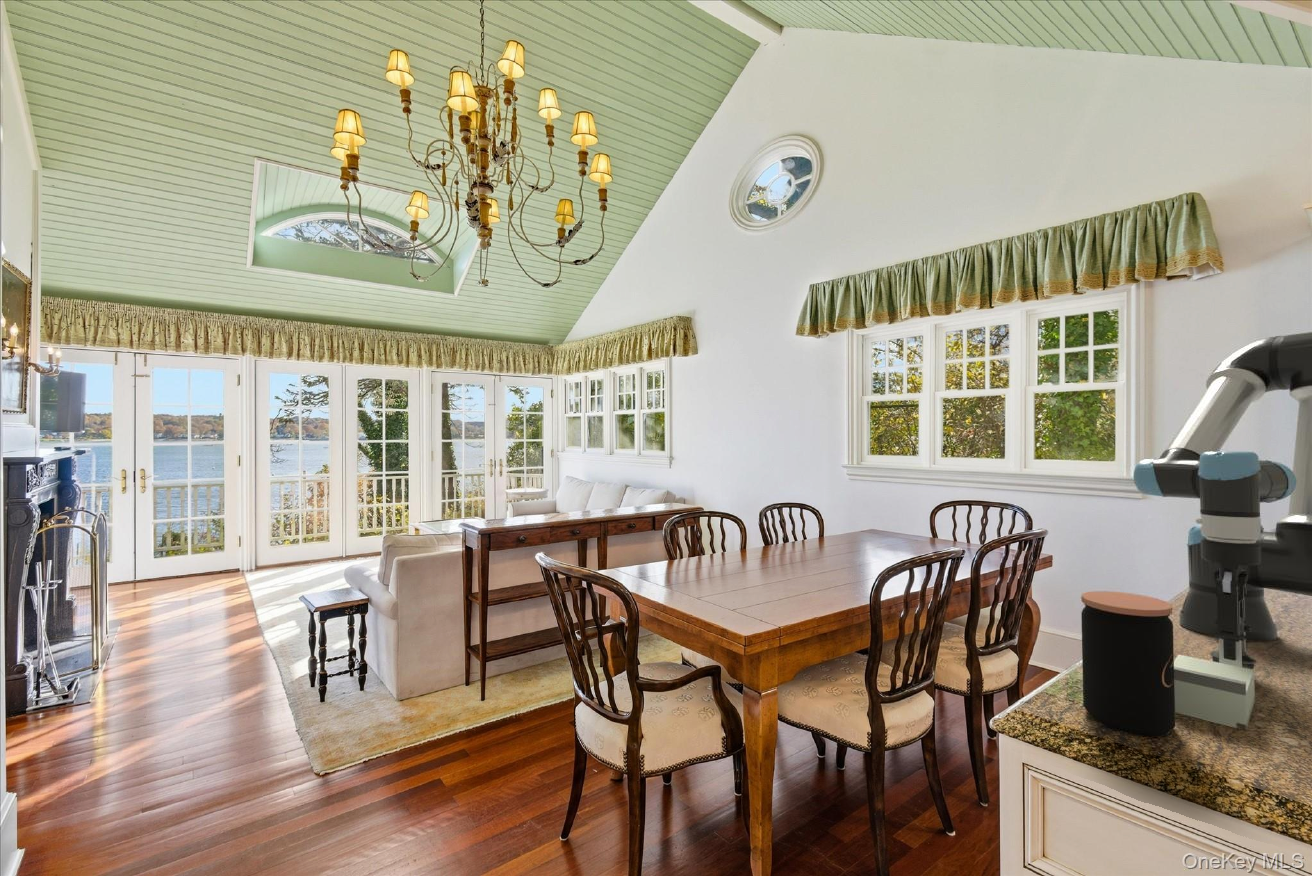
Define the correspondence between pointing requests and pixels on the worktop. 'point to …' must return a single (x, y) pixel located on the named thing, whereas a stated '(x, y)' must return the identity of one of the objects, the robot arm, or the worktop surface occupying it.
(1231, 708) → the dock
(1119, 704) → the coffee jar
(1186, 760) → the worktop surface
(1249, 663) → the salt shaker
